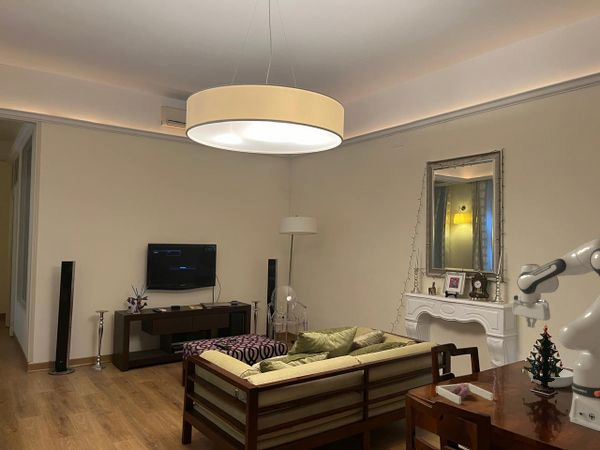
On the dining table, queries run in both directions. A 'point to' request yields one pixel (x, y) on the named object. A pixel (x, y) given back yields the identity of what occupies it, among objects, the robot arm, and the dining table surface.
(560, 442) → the dining table surface
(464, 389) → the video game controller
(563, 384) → the serving bowl
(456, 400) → the cream bay
